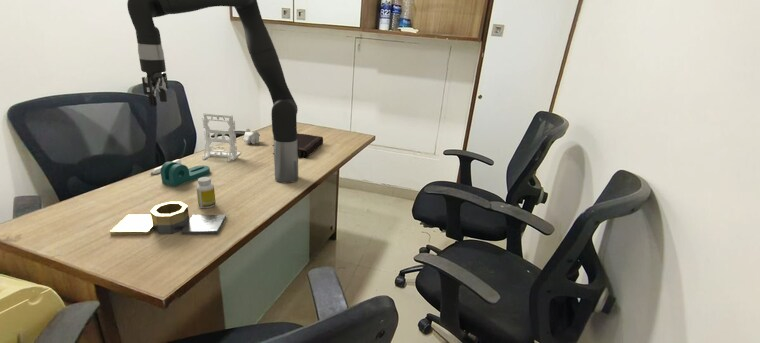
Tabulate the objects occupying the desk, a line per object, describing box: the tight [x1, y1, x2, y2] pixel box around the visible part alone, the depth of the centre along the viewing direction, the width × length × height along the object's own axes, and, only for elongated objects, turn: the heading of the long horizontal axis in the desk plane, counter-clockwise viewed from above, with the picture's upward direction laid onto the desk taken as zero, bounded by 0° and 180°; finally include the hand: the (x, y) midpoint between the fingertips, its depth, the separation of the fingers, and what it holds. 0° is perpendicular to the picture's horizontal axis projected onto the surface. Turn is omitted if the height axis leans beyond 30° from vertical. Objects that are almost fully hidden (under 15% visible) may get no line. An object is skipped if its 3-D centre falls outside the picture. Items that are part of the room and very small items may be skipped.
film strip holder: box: [201, 113, 242, 163], centre depth 164 cm, size 14×14×20 cm
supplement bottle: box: [195, 176, 217, 209], centre depth 121 cm, size 5×5×10 cm
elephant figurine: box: [241, 128, 261, 145], centre depth 187 cm, size 8×10×7 cm
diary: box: [272, 132, 324, 159], centre depth 185 cm, size 19×25×5 cm
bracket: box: [160, 160, 211, 188], centre depth 141 cm, size 18×7×8 cm, turn 156°
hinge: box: [109, 201, 227, 236], centre depth 108 cm, size 29×10×6 cm, turn 98°
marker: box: [149, 158, 182, 176], centre depth 148 cm, size 3×2×16 cm
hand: (159, 103), depth 131 cm, fingers open, 8 cm apart
